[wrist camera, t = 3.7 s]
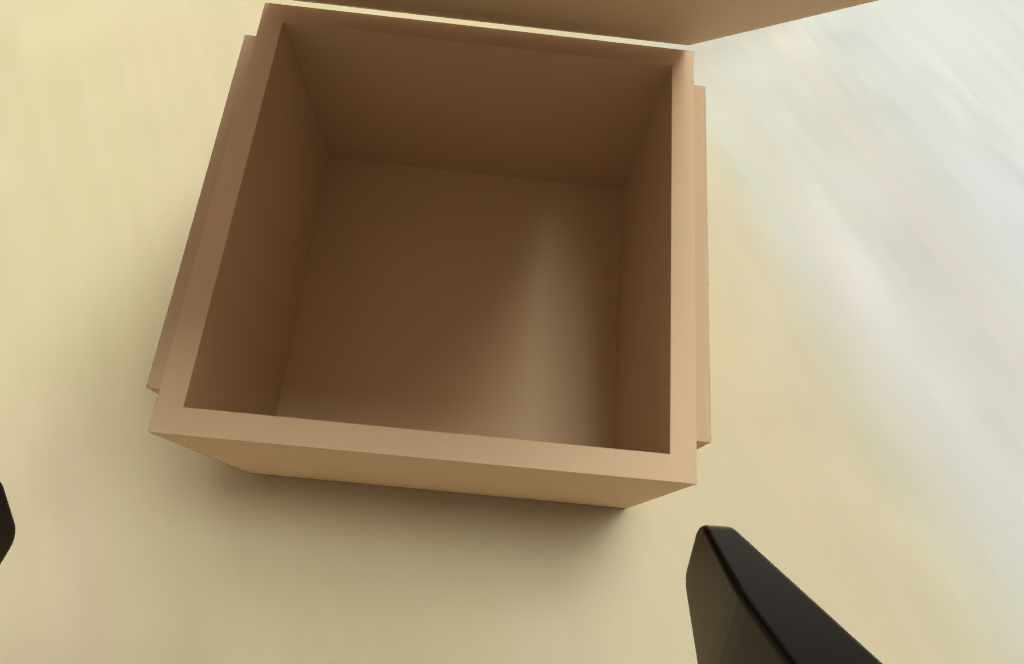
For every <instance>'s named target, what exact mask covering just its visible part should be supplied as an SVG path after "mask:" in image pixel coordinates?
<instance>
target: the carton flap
mask: <svg viewBox="0 0 1024 664" xmlns="http://www.w3.org/2000/svg"><path fill="white" fill-rule="evenodd" d="M295 1H304V2H313V3H322V4H330V5H339V6H348V7H357V8H366V9H374V10H383V11H392V12H401V13H409V14H418V15H427V16H436V17H445V18H453V19H462V20H471V21H480V22H489V23H497V24H506V25H515V26H524V27H532V28H541V29H550V30H559V31H568V32H576V33H585V34H594V35H603V36H611V37H620V38H629V39H638V40H647V41H655V42H664V43H673V44H682V45H692V44H696V43H700V42H704V41H709V40H713V39H717V38H721V37H725V36H730V35H734V34H738V33H742V32H746V31H751V30H755V29H759V28H763V27H767V26H772V25H776V24H780V23H784V22H789V21H793V20H797V19H801V18H805V17H810V16H814V15H818V14H822V13H826V12H831V11H835V10H839V9H843V8H847V7H852V6H856V5H860V4H864V3H868V2H873V1H877V0H295Z"/></svg>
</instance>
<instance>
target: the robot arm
mask: <svg viewBox="0 0 1024 664" xmlns="http://www.w3.org/2000/svg"><path fill="white" fill-rule="evenodd" d="M14 536H15V523H14V520H13V517H12V514H11V510H10V507H9V504H8V501H7V497H6V494H5V491H4V488H3V485H2V483H1V482H0V564H1V562H2V561H3V559H4V557H5V556H6V554H7V552H8V551H9V549H10V547H11V545H12V543H13V540H14ZM686 591H687V598H688V604H689V610H690V617H691V623H692V629H693V636H694V642H695V648H696V655H697V661H698V664H882V663H881V662H880V661H879V660H878V659H877V658H876V657H874V656H873V655H872V654H871V653H870V652H869V651H868V650H867V649H866V648H865V647H863V646H862V645H861V644H860V643H859V642H858V641H857V640H856V639H855V638H854V637H852V636H851V635H850V634H849V633H848V632H847V631H846V630H845V629H844V628H843V627H841V626H840V625H839V624H838V623H837V622H836V621H835V620H834V619H833V618H832V617H830V616H829V615H828V614H827V613H826V612H825V611H824V610H823V609H822V608H821V607H819V606H818V605H817V604H816V603H815V602H814V601H813V600H812V599H811V598H810V597H808V596H807V595H806V594H805V593H804V592H803V591H802V590H801V589H800V588H799V587H797V586H796V585H795V584H794V583H793V582H792V581H791V580H790V579H789V578H788V577H786V576H785V575H784V574H783V573H782V572H781V571H780V570H779V569H778V568H777V567H775V566H774V565H773V564H772V563H771V562H770V561H769V560H768V559H767V558H766V557H764V556H763V555H762V554H761V553H760V552H759V551H758V550H757V549H756V548H755V547H753V546H752V545H751V544H750V543H749V542H748V541H747V540H746V539H745V538H744V537H742V536H741V535H740V534H739V533H738V532H737V531H736V530H734V529H733V528H730V527H724V526H709V525H704V526H702V527H700V528H699V530H698V532H697V534H696V538H695V542H694V546H693V549H692V553H691V557H690V561H689V564H688V568H687V573H686Z"/></svg>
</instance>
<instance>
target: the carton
mask: <svg viewBox="0 0 1024 664" xmlns="http://www.w3.org/2000/svg"><path fill="white" fill-rule="evenodd" d="M146 388H148V389H150V390H152V391H154V392H156V393H158V397H157V401H156V405H155V408H154V412H153V416H152V419H151V423H150V427H149V430H148V432H150V433H153V434H155V435H158V436H160V437H162V438H165V439H167V440H170V441H172V442H175V443H177V444H180V445H182V446H185V447H187V448H190V449H192V450H195V451H197V452H200V453H202V454H204V455H207V456H209V457H212V458H214V459H217V460H219V461H222V462H224V463H227V464H229V465H232V466H234V467H237V468H239V469H242V470H244V471H247V472H249V473H255V474H266V475H276V476H287V477H298V478H308V479H319V480H330V481H340V482H351V483H362V484H372V485H383V486H394V487H404V488H415V489H426V490H436V491H447V492H457V493H468V494H479V495H489V496H500V497H511V498H521V499H532V500H543V501H553V502H564V503H575V504H585V505H596V506H607V507H617V508H629V507H631V506H634V505H637V504H640V503H643V502H646V501H649V500H652V499H655V498H658V497H660V496H663V495H666V494H669V493H672V492H675V491H678V490H681V489H684V488H687V487H689V486H692V485H695V484H697V449H698V448H700V447H702V446H704V445H706V444H708V443H710V442H711V416H710V353H709V289H708V226H707V162H706V99H705V87H704V86H695V85H694V82H693V51H686V50H677V49H668V48H660V47H651V46H642V45H633V44H624V43H616V42H607V41H598V40H589V39H580V38H572V37H563V36H554V35H545V34H536V33H528V32H519V31H510V30H501V29H492V28H484V27H475V26H466V25H457V24H448V23H440V22H431V21H422V20H413V19H404V18H396V17H387V16H378V15H369V14H360V13H352V12H343V11H334V10H325V9H316V8H308V7H299V6H290V5H281V4H272V3H265V6H264V9H263V13H262V17H261V20H260V24H259V28H258V31H257V35H256V36H250V35H245V37H244V41H243V44H242V48H241V51H240V55H239V59H238V62H237V66H236V69H235V73H234V76H233V80H232V83H231V87H230V91H229V94H228V98H227V101H226V105H225V108H224V112H223V116H222V119H221V123H220V126H219V130H218V133H217V137H216V141H215V144H214V148H213V151H212V155H211V158H210V162H209V166H208V169H207V173H206V176H205V180H204V183H203V187H202V191H201V194H200V198H199V201H198V205H197V208H196V212H195V215H194V219H193V223H192V226H191V230H190V233H189V237H188V240H187V244H186V248H185V251H184V255H183V258H182V262H181V265H180V269H179V273H178V276H177V280H176V283H175V287H174V290H173V294H172V298H171V301H170V305H169V308H168V312H167V315H166V319H165V323H164V326H163V330H162V333H161V337H160V340H159V344H158V347H157V351H156V355H155V358H154V362H153V365H152V369H151V372H150V376H149V380H148V383H147V387H146Z"/></svg>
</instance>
